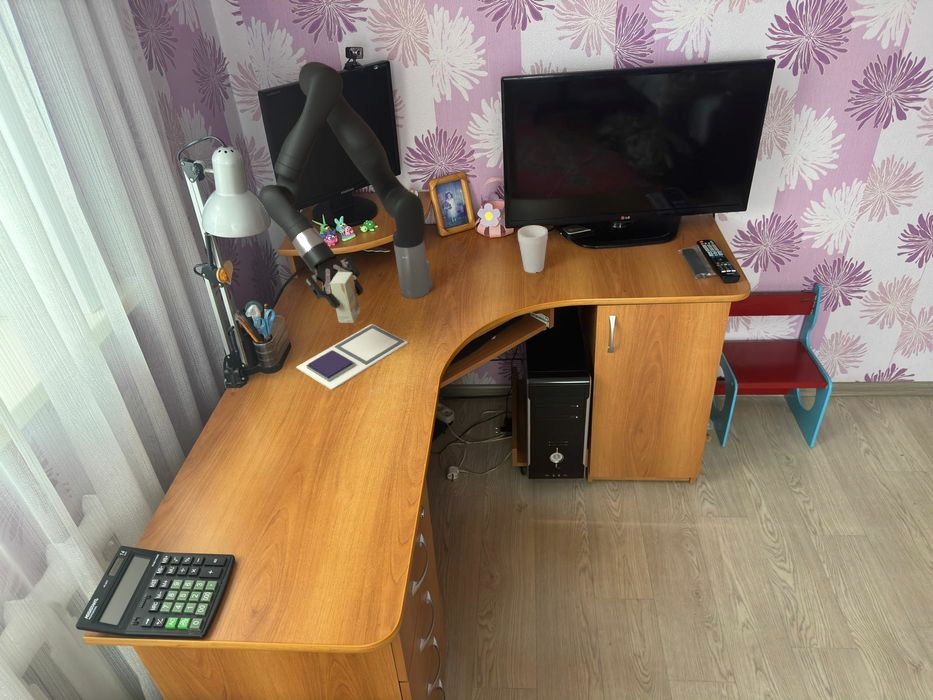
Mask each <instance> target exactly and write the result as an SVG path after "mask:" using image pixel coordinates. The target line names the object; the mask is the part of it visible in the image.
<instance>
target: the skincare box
mask: <svg viewBox="0 0 933 700" xmlns="http://www.w3.org/2000/svg"><path fill="white" fill-rule="evenodd" d="M330 291H331V293H332V294H333V295H334V297H335V298H336V299H337V301H338V302H339V304H340V306H339V307H338V308H335V310H336V315H337V320H338V323H341V324H342V323H343V324H345V323H347V324H352V323H355V321H356V319H358V316H359V314H360V313H361V308H360V302H359V298H358V294H357V293H356V288H355V283H354V279H353V274H352V272H349V271H348V272H337V273H336V275H335V276H334V278H333V279H332V281H331V282H330Z"/></svg>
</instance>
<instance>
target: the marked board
mask: <svg viewBox="0 0 933 700" xmlns="http://www.w3.org/2000/svg"><path fill="white" fill-rule="evenodd" d="M408 344H409V341H407V340H405V339H403V338H400V337H399V336H397V335H395V334H392V333H390V332H389V331H387V330H385V329H383V328H381V327H378V326H377V325H375V324H373V323H371V324H369V325H367V326H366V327H363V328H362V329H360V330H358V331H357V332H355V333H353V334H351V335H349V336H348V337H346V338H344V339H343V340H340V341H339V342H337V343H335V344H334V345H332V346H330V347H329V348H327V349H324V350H323V351H321V352H320V353H318V354H316V355H315V356H313V357H311V358H309V359H307V360H306V361H304V362H303V363H301V364H298V365H297V366H296V369H297V370H299V371H300V372H302V373H303V374H305V375H307V376H308V377H310V378H312V379H313V380H315V381H316V382H318V383H320V384H321V385H322V386H324V387H326V388H327V389H329V390H331V391H333V390H334V389H336V388H338V387H339V386H341V385H343V384H344V383H347V382H348V381H349V380H351V379H352V378H355V377H356V376H357V375H359V374H360V373H362V372H364V371H365V370H367V369H369V368H371V367H372V366H374V365H376V364H377V363H378V362H380V361H382V360H384V359H385V358H387V357H389V356H390V355H392V354H393V353H394V352H396V351H398V350H400V349H402V348H403V347H405V346H406V345H408ZM331 350H333V351H335V352H337V353H339V354H340V355H342V356H344V357H346V358H347V359H349V360H351V361H353V362H354V363H355V365H356V366H355V367H353V368H351V369H350V370H348V371H347V372H345V373H343V374H342V375H340V376H338V377H337V378H335V379H333V380H332V381H330V382H328V381H327V380H325V379H323V378H322V377H320V376H319V375H317V374H315V373H314V372H312V371H311V370H309V369H307V366H306V365H308V364H309V363H310V362H312V361H314V360H316V359H317V358H319V357H321V356H323V355H324V354H326V353H328V352H330V351H331ZM370 366H371V367H370Z"/></svg>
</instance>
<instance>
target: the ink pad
mask: <svg viewBox="0 0 933 700" xmlns="http://www.w3.org/2000/svg"><path fill="white" fill-rule="evenodd" d="M306 366H307V369H309V370H311V371H312V372H314V373H315V374H317V375H319V376H320V377H322V378H323V379H325V380H327V381H328V382H330V381H332V380H333V379H335V378H337V377H338V376H340V375H342V374H343V373H345V372H347V371H348V370H350V369H351V368H353V367H355V366H356V365H355V363H354V362H353V361H351V360H349V359H347V358H346V357H344V356H342V355H340V354H339V353H337V352H335V351H333V350H331V351H330V352H328V353H326V354H324V355H323V356H321V357H319V358H317V359H316V360H314V361H312V362H310V363H309V364H308V365H306Z"/></svg>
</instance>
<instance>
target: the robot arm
mask: <svg viewBox="0 0 933 700" xmlns="http://www.w3.org/2000/svg"><path fill="white" fill-rule="evenodd" d="M341 76H342V75H340V73H339V72H338V71H337V69H335V68H334V67H332V66H329V65H328V64H325V63H324V62H323V63H322V62H319V61H310V62H307V63H305V64H304V65H302V67H301V69H300V70H299V73H298V84H299V87H300V90H301V91H302V93H303V94H304V96H306V98H305V104H304V107H303V110H302V113H301V115H300V117H299V118H298V120H297V122H296V123H295V124H294V126H293V128H292V129H291V131H290V132H289V133H288V134H287V136H286V138H285V140H284V142H283V143H282V146H281V149H280V151H279V154H278V157H277V159H276V162H275V165H274V172H275V173H276V174H277V179H276V184H267V185H264V186H262V188H261V189H260V191H259V193H258V200H259V199H260V201H261V202H262V203H263V204H264V206H265V208H266V209H267V211H268V214H269V215H268V214H267V215H268V217H269V216H270V217H269V218H270V219H271V220H272V221H273V222H274V223H275V224H276V225H278V226H279V227H280V228H281V229H282V230H283V232H284V233H285V235H286V236H287V237H288V239H289V241H290V242H291V243H292V245H293V246H294V248H295V250H296V252H297V254H298V255H299V257H301V259H302V260H303V261H304V263H305V265H307V267H308V268H309V270H310V271H311V272H312V274H313V275H309V276H307V278H306V280H305V284H306V285H307V286H308V288H309V289H310V290H311V292H312V294H313V295H314V296H315V297H316V298H317V300H318V299H319V300H320V299H321V298H325V300H326V301H327V302H328V303H329V304H330V305H329V306H331V307H332V308H334V309H336V308H338V307H339V306H340V304H339V302H338V301H337V299H336V298H335V297H334V295H333V294H332V292H331V286H330V282H331V281H332V279H333V278H334V276H335V275H336V273H337V272H352V274H353V279H354V283H355V288H356V293H357V296H361V295H362V294H363V293H364V291H363V290H364V289H363V288H364V287H363V286H362V285H361V283H360V282H359V280H358V278H359V276H360V275H361V272H360V270H359V269H358V267H357V266H356V264H355V263H354V261H353V259H351V257H350V256H346V257H345V258H344V259H341V260H339V259H337V256H336V254H335V253H334V251H333V250H332V249H331V247H330V246H329V244H328V242H326V240H325V239H324V238H323V236H322V235H321V233H320V232H319V231H318V230H316V227H315V226H314V225H313V224H312V222H311V221H310V220H309V218H308V217H307V215H305V214H304V213H303V212H301V211H299V210H298V209H296V208H295V205H296V203H297V200H298V198H299V191H300V186H301V177H302V175H303V173H304V170H305V167H306V165H307V163H308V159H309V157H310V154H311V151H312V149H313V147H314V145H315V142H316V140H317V138H318V136H319V135H320V132H321V131H322V129H323V127H324V125H325V123H326V122H327V123H328V125H329V126H330V128H331V130H332V132H333V134H334V135H335V137H336V138H337V140H338V142H339V143H340V145H341V146H342V148H343V150H344V151H345V152H346V154H347V156H348V157H349V158H350V160H351V161H352V162H353V164H354V166H355V167H356V168H357V169H358V171H359V172H360V173H361V175H362V176H363V177H364V178H365V179H366V181H367V182H368V183H369V184H370V185H371V187H372V188H373V190H374V191H375V194H376V195H377V197H378V199H379V200H380V202H381V205H382V207H383V209H384V210H385V212H386V213H387V214H388V215H389V216H390V217H391V218H393V219H394V222H395V228H396V230H395V231H394V233H393V235H392V242H393V248H394V255H395V261H396V262H395V263H396V267H397V274H398V279H399V280H398V281H399V286H400V292H401V295H402V296H403V297H406V298H409V299H416V298H421V297H425V296H426V295H428V294H429V293H430V292H431V289H433V280H432V274H431V273H432V272H431V265H430V260H428V259H427V253H426V246H425V238H424V235H425V232H426V225H425V223H426V222H425V210H424V205H423V202H422V200H421V198H420V196H418V195H417V194H415V193H414V192H412V191H410V190H409V189H407V188H406V187H405V186H404V185H403V184H402V183H401V181H400V180H399V179H398V178H397V176H396V175H395V174H394V172H393V170H392V168H391V166H390V163H389V160H388V156H387V155H388V154H387V153H386V150H385V149H384V146H383V144H382V143H381V142H380V140H379V138H378V137H377V135H376V134H375V132H374V131H373V130H372V129H371V127H370V126H369V124H367V122H366V121H365V120H364V119H363V118H362V117H361V116H360V115H359V114H358V113H357V112H356V110H354V109H353V107H351V105H350V104H349V103H348V101H347V100H346V99H345V97H344V95H343V94H342V92H343V88H344V81H343V79H342V77H341ZM344 268H346V269H347V270H346V269H344ZM317 281H319V282H321V287H320V285H319V284H318V283H317Z"/></svg>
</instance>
